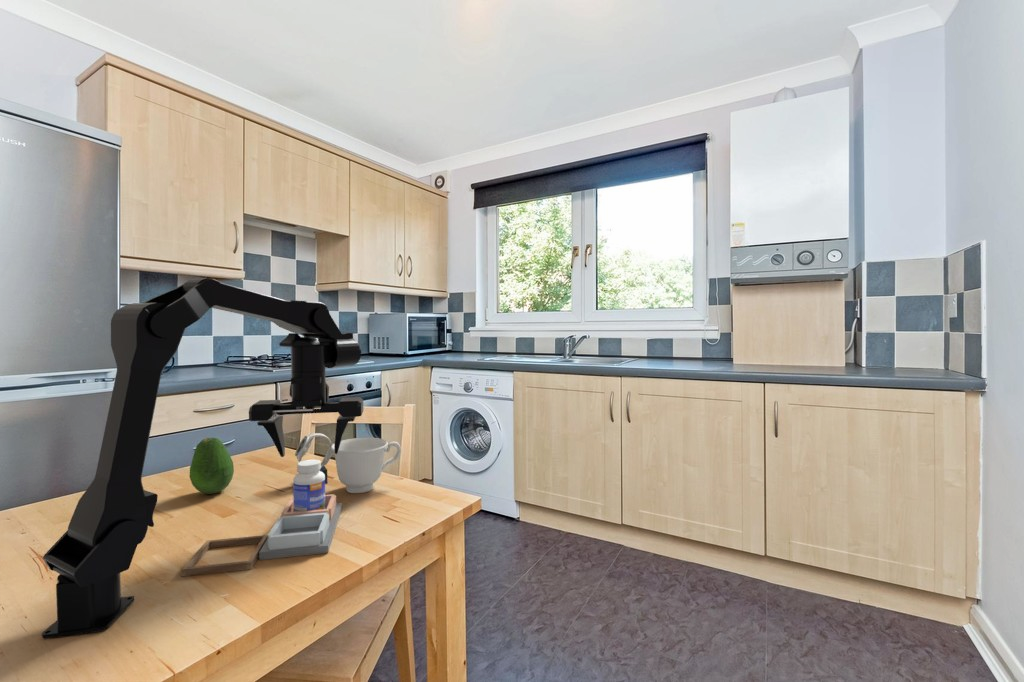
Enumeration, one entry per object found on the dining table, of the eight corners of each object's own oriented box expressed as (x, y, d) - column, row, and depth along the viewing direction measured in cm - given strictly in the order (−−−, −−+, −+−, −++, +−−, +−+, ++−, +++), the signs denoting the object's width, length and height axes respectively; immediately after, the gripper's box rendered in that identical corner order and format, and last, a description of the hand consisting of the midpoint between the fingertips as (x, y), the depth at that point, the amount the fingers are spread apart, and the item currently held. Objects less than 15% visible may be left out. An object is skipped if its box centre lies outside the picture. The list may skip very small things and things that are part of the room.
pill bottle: (313, 521, 83) (313, 467, 83) (286, 519, 84) (286, 465, 84) (331, 509, 88) (331, 459, 88) (306, 507, 89) (305, 457, 89)
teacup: (405, 492, 101) (404, 447, 100) (331, 502, 95) (330, 453, 95) (397, 475, 112) (397, 434, 111) (330, 483, 106) (330, 440, 106)
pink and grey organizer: (328, 552, 74) (327, 533, 74) (259, 559, 72) (259, 539, 72) (341, 508, 92) (341, 492, 92) (286, 513, 89) (286, 497, 89)
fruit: (196, 489, 102) (194, 435, 102) (237, 485, 105) (236, 432, 104) (185, 502, 95) (183, 444, 94) (229, 497, 98) (228, 440, 97)
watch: (294, 481, 108) (293, 434, 107) (330, 475, 112) (330, 429, 111) (297, 488, 103) (296, 439, 102) (335, 482, 107) (335, 434, 107)
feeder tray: (251, 568, 69) (251, 562, 69) (181, 576, 67) (180, 569, 67) (268, 540, 78) (268, 534, 78) (206, 546, 76) (206, 540, 76)
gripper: (365, 365, 95) (365, 440, 96) (265, 367, 91) (266, 446, 91) (360, 371, 84) (361, 456, 85) (246, 373, 80) (248, 463, 81)
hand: (309, 454), depth 86 cm, fingers open, 9 cm apart
